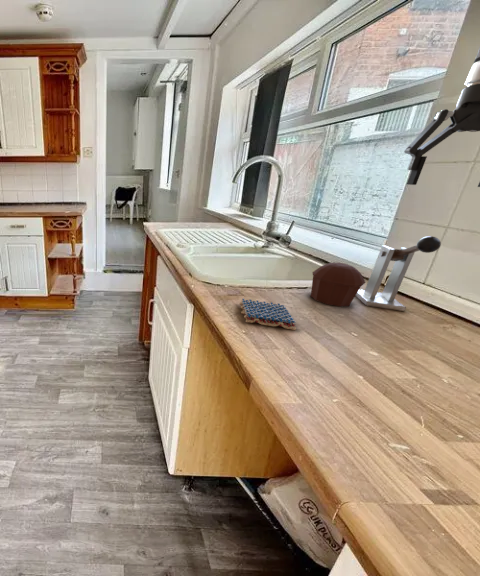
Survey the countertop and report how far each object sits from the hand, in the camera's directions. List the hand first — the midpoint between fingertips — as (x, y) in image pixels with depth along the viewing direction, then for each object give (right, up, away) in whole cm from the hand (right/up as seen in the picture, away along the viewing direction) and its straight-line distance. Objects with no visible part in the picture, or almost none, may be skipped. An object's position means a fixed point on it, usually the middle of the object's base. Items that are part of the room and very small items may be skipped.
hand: (446, 186), depth 75 cm
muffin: (-22, -28, +8) cm, 37 cm away
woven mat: (-46, -32, -3) cm, 56 cm away
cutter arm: (-11, -18, -2) cm, 21 cm away
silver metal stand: (-9, -29, +9) cm, 31 cm away
